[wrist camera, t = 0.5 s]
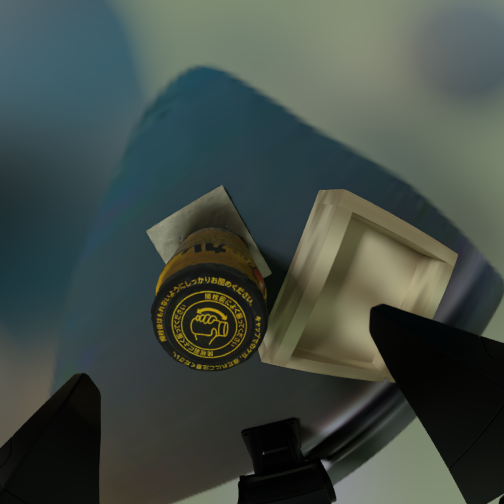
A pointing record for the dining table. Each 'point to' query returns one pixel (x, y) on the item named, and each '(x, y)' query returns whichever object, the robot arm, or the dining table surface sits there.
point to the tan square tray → (351, 287)
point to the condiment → (209, 286)
